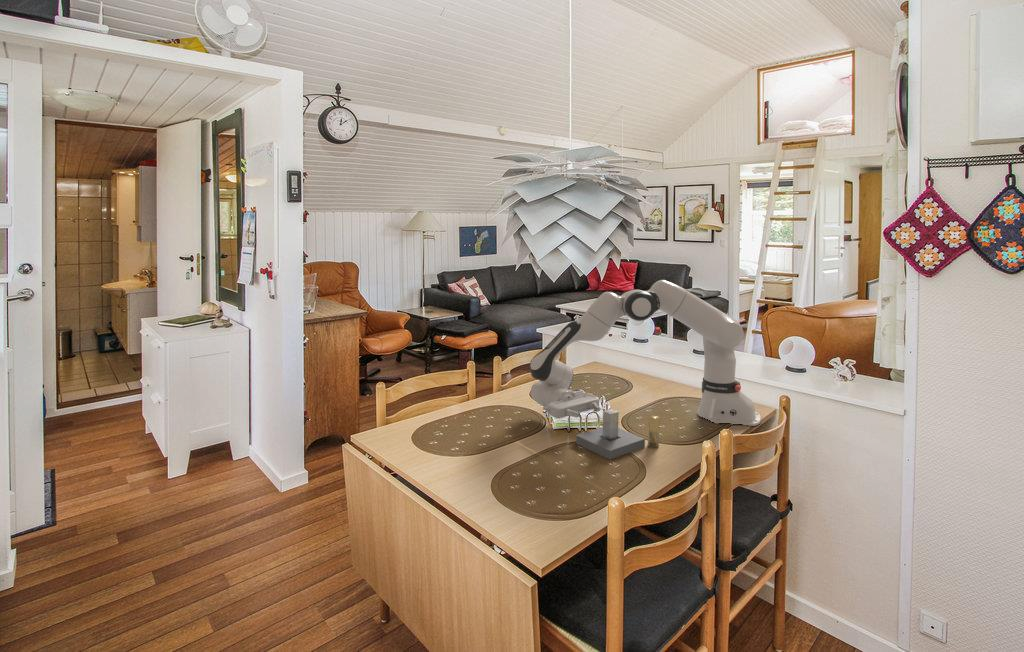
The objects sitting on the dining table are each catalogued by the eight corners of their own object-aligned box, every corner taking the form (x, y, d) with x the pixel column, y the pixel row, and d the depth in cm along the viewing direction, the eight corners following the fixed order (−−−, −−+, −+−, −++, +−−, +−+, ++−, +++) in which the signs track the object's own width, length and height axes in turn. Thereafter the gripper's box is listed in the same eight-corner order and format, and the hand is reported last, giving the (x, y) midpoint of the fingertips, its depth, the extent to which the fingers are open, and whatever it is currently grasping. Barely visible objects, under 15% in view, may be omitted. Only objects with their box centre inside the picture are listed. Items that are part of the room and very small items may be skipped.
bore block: (576, 443, 192) (576, 435, 191) (610, 432, 201) (610, 424, 200) (609, 459, 179) (609, 450, 178) (644, 447, 188) (645, 438, 187)
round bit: (659, 445, 189) (660, 416, 187) (657, 449, 186) (658, 420, 184) (648, 443, 191) (649, 415, 189) (646, 447, 188) (647, 418, 186)
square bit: (602, 444, 190) (602, 410, 188) (610, 442, 192) (610, 408, 190) (610, 448, 187) (610, 414, 185) (617, 445, 189) (618, 411, 187)
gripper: (540, 398, 201) (565, 409, 190) (583, 388, 212) (609, 397, 201) (540, 415, 202) (565, 427, 191) (583, 404, 214) (609, 414, 203)
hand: (588, 412), depth 196 cm, fingers open, 8 cm apart
